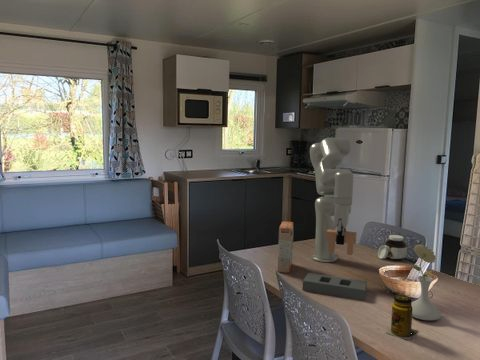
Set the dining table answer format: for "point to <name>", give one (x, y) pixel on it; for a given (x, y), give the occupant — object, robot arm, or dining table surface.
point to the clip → (348, 238)
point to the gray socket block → (335, 286)
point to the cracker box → (285, 247)
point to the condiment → (402, 317)
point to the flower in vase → (424, 288)
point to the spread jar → (393, 248)
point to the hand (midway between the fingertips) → (340, 242)
